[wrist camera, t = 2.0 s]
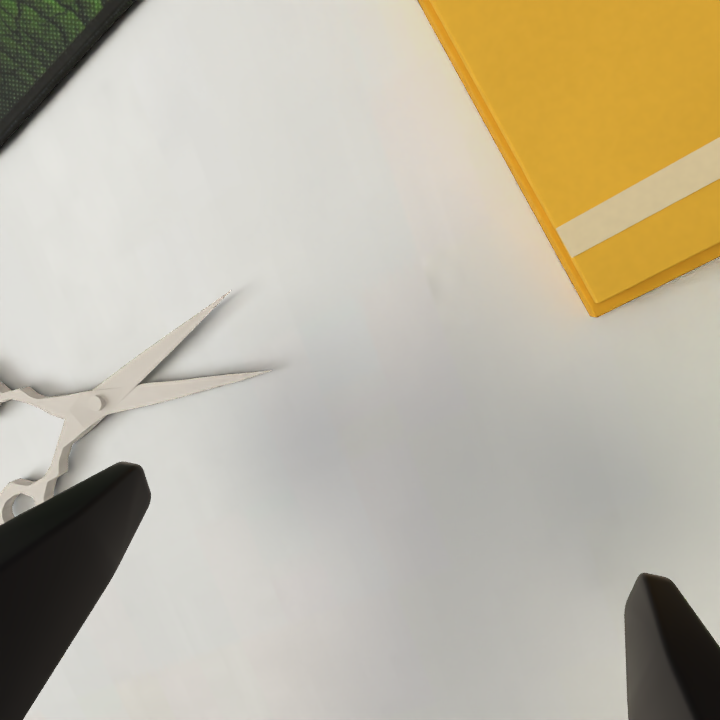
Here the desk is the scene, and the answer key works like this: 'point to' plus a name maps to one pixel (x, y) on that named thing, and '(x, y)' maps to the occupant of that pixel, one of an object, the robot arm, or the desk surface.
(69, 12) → the mouse mat
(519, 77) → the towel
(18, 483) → the scissors
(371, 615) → the desk surface
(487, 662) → the desk surface
